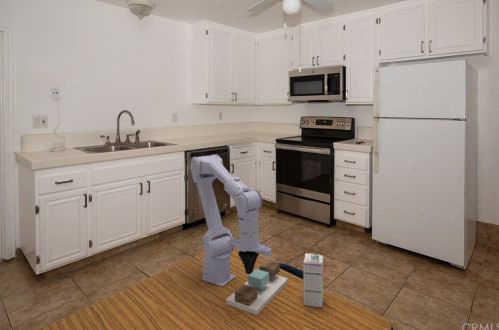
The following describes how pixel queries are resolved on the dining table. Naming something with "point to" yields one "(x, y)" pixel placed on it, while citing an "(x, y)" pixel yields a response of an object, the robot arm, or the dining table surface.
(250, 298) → the brown ledged cube
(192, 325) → the dining table surface
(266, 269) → the far walnut button
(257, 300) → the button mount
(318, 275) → the syrup box
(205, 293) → the dining table surface
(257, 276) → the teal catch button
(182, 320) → the dining table surface
